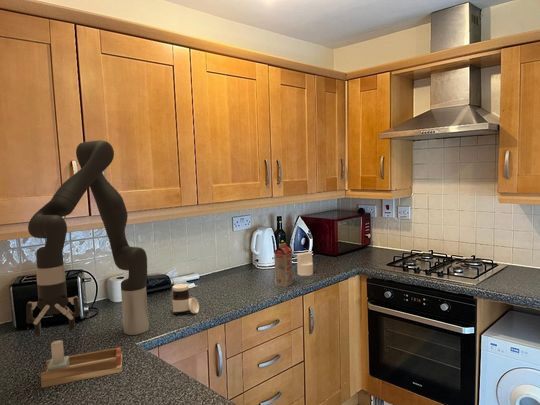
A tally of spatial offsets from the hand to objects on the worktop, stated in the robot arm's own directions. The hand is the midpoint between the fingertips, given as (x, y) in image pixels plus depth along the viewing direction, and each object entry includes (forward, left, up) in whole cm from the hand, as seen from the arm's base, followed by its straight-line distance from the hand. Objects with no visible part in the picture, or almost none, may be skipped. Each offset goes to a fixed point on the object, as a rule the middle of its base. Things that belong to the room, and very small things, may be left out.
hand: (55, 332), depth 119 cm
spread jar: (-39, +44, -14) cm, 61 cm away
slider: (0, 0, -12) cm, 12 cm away
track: (0, +7, -14) cm, 16 cm away
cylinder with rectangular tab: (-71, +117, -14) cm, 138 cm away
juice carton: (-57, +98, -14) cm, 114 cm away
